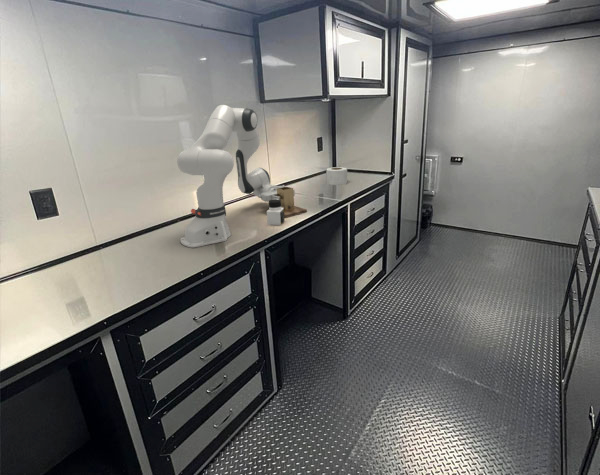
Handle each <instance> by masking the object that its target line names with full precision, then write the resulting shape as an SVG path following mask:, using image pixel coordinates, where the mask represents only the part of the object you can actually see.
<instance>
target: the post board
mask: <svg viewBox="0 0 600 475" xmlns="http://www.w3.org/2000/svg"><path fill="white" fill-rule="evenodd" d="M268 210H269V209H266V210H265V212H266V214H267V211H268ZM307 212H308V209H306V208H302V207H299V206H295V205H294V210H291V211H288V212H284V219H287V218H291V217H294V216H298V215H302V214H305V213H307Z"/></svg>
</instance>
